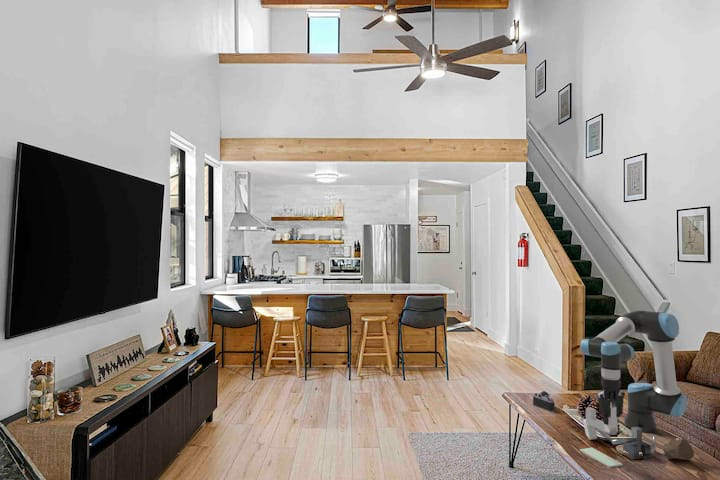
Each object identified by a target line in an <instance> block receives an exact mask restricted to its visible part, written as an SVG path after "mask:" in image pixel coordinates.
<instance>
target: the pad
mask: <svg viewBox="0 0 720 480" xmlns="http://www.w3.org/2000/svg"><path fill="white" fill-rule="evenodd" d="M579 452H582V453H583V454H584V455H587V456H588V457H590V458H591V459H594V460H595V461H597V462H599V463H600V464H603V465H604V466H606V467H608V468H609V469H612V468H618V467H623V466H624V463H621V462H620V461H618V460H616V459H614V458H612V457H611V456H608V455H607V454H605V453H603V452H601V451H599V450H598V449H596V448H595V447H588V448H587V447H585V448H581V449H579Z"/></svg>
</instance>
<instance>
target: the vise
mask: <svg viewBox="0 0 720 480" xmlns="http://www.w3.org/2000/svg"><path fill="white" fill-rule="evenodd" d="M630 430H631V437H629V438H623V439H622V438H621V439H620V438H619V439H612V440H611V441H610V442H611V444H612V445H621V444H622V448H623V449H622V450H625V451H626V452H628V453H629V454H631V455H626V456H625V457H627V458H629V459H631V460H639V459H646V458H652V457H653V458H654V457H656V454H654V453H657V452H656V449H657V448H656V447H657V445H656V444H657V442H656V440H657V438H656V436H653V437H652V444H650V443H647V442H645V441H644V440H643V432H642V429H641V428H638V427H631V429H630ZM651 449H652V450H651ZM620 451H621V450H618V453H619V452H620ZM639 452H642V453H643V456H639ZM652 452H653V453H652Z"/></svg>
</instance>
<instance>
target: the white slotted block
mask: <svg viewBox="0 0 720 480" xmlns="http://www.w3.org/2000/svg"><path fill="white" fill-rule="evenodd" d="M609 417H610V418H611V433H609V432H606V431H605V425H604V420H600V419H599V418H597V410H596V409H595V408H593V407H585V419H586V423H587V424H589V425H591V426H593V427H595V429H596V430H597V429H599V430H601V431H603V432H605V433H607V434H609V436H616V435H617V433H618V432H616V407H615V406H613V405H612V404H610V412H609Z"/></svg>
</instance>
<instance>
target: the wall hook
mask: <svg viewBox="0 0 720 480" xmlns="http://www.w3.org/2000/svg"><path fill="white" fill-rule="evenodd" d="M582 423H583V426H584V432H585V435H586V437H587V438H588V440H590V441H591V440H597V439H598V436H597V432H596V431H598V433H599V434H600V435H601V437H602V436H603V437H605V438H609V439H610V438H611V435H610V434H607V433H605V432H603V431H601V430H599V429H597V428H595V427H593V426H591V425H589V424H587V423H586V418H584V419H583V418H582ZM603 437H602V438H603Z"/></svg>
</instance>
